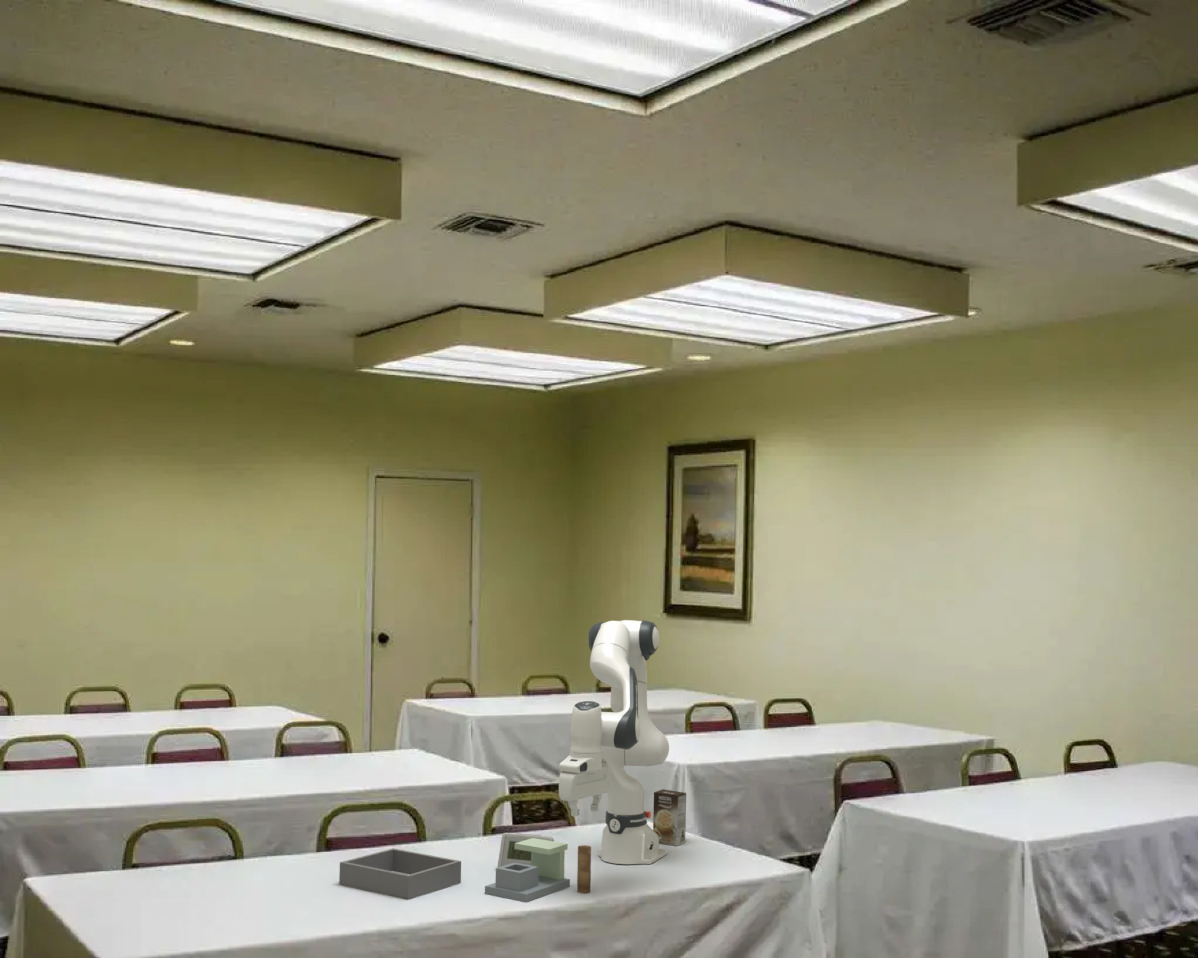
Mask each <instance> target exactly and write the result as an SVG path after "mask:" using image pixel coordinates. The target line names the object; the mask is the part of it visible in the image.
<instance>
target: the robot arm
mask: <svg viewBox="0 0 1198 958" xmlns="http://www.w3.org/2000/svg"><path fill="white" fill-rule="evenodd" d="M587 642H588V647H589V650H590V652H591V653H590V658H589V668H590V670H591V672H592V674H593V675H594V677H595V678H596V679H597V680H598V681H600V682H602V683H603V684H605V685H608V686H610V704H609V705H610V709H611V710H612V711H611V712H610V711H609V712H608V711H602V708H601V707H602V706H601V704H600V703H599V702H596V701H593V700H586V701H585V700H584V701H578V702H577V703H576V704H574V705H573V706H572V707H573V708H572V713H571V719H570V720H571V721H570V730H569V731H570V735H569V736H570V739H571V743H570V744H571V745H570V748H569V755H568V756H566V758H565V759H563V760H562V761H561V762H559V764H558V770H559V772H560V773H559V778H558V796H559V799H560V800H561V801H565V802H567V803H568V805H569V808H570V816H571V817H578V816H580V808H579V809H578V806H577V804H578V803H579V802H578V801H579V800H582V799H585V798H590V797H592V798H593V799H592V802H591V804H590V811H591V812H597V811H599V810H600V807H599V805H600V803H601V800H602V796H603V794H605V793H606V802H607V803H606V804H607V806H606V807H607V808H606V811H605V816H604V817H605V824H606V826H604V827H603V829H602V835H601V844H600V845H601V847H600V850H599V851H598V852H597V853H598V854H597V855H598V857H600V860H602V861H604V862H605V863H611V864H617V865H639V864H641V865H650V864H653V863H655V862H657V861H658V860H660V859H662V858H663V857H664V856H666V855H667V854H668V853H667V850H665V849H662V848H660V843H659V838H658V835H657V834H656V833H655V832H654V831H653V828H651V826H649V824H648V820H647V819H650V818H651V817H652V812H651V811H650V810H649V811H647V810H644V809H645V806H644V805H645V804H644V803H645V788H644V786H643V784H642V783H641V781H639V780H638V779H636V778H634V777H633V776H631V775H630V774H628V773H627V772H626V770H625V767H626V766H629V767H652V766H657V765H661V764H663V763H665V761H666V760H667V758H668V755H669V752H670V744H669V741H668V738H667V736H666V735H665V734H664V733H663V732H662V731H661V730H659V729H658V728H657V726H656V725H655V723H654V722H653V721H652V719H651V717H650V714H649V709H648V695H647V694H648V669H647V662H646V661H648V660H649V659H650V657H652V656H653V655H654V654H655V653H656V651H657V650H658V648H659V644H660V643H659V642H660V632H659V629H658V626H657V625H656V624H655V623H654V622H653V621H650V620H644V619H643V620H635V619H632V620H631V619H622V620H608V621H606V622H604V621H601V622H597V623H594V624H593V625H592V626H591V627H590V628H589V631H588V636H587Z"/></svg>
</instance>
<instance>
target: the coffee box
mask: <svg viewBox="0 0 1198 958" xmlns="http://www.w3.org/2000/svg"><path fill="white" fill-rule="evenodd" d="M652 817H653V818H652V819H653V821H652V830H653V831H654V832H655V833H656V834H657V835H658V838H659V845H660V844H662V845H667V846H673V847H678V846H680V845H683V844H685V843H686V828H687V827H686V826H687V825H686V824H687V823H686V820H687V792H683V791H678V790H677V791H676V790H672V789H663V788H662V789H660V790H656V791H654V792H653V816H652Z"/></svg>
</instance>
